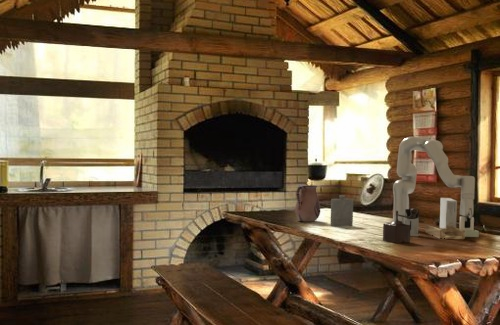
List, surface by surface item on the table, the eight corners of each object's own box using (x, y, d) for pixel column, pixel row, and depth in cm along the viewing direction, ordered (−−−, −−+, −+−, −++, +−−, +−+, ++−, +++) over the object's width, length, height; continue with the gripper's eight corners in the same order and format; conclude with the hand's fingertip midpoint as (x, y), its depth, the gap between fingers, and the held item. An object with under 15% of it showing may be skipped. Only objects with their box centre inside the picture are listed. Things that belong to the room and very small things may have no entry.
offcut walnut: (444, 234, 327) (444, 231, 327) (443, 233, 331) (444, 230, 331) (452, 234, 326) (452, 231, 326) (451, 233, 331) (451, 230, 331)
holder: (458, 236, 333) (458, 230, 333) (453, 234, 340) (453, 229, 340) (479, 237, 333) (479, 231, 333) (474, 235, 340) (474, 229, 340)
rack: (439, 238, 321) (440, 229, 321) (425, 232, 347) (426, 224, 347) (464, 239, 321) (464, 230, 321) (448, 233, 347) (448, 225, 347)
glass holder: (421, 235, 332) (422, 210, 332) (408, 237, 323) (409, 210, 323) (408, 233, 339) (409, 208, 339) (395, 235, 329) (395, 209, 329)
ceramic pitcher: (324, 221, 395) (325, 185, 395) (310, 223, 377) (311, 186, 377) (301, 219, 404) (302, 184, 404) (287, 221, 387) (288, 184, 386)
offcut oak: (445, 238, 326) (445, 234, 326) (442, 237, 331) (442, 233, 331) (453, 238, 326) (454, 234, 326) (450, 237, 331) (450, 233, 331)
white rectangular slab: (460, 233, 335) (461, 216, 335) (459, 233, 338) (459, 216, 338) (473, 234, 335) (473, 217, 335) (471, 233, 338) (472, 216, 338)
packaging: (456, 233, 348) (457, 201, 348) (445, 232, 349) (446, 200, 349) (449, 228, 378) (450, 198, 378) (439, 227, 379) (440, 197, 379)
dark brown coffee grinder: (396, 243, 295) (397, 209, 295) (382, 240, 305) (383, 207, 305) (418, 242, 303) (419, 208, 303) (403, 239, 312) (404, 206, 312)
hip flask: (331, 226, 366) (332, 195, 366) (328, 225, 370) (329, 195, 370) (353, 226, 372) (354, 195, 371) (350, 225, 375) (351, 195, 375)
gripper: (456, 195, 345) (455, 225, 345) (466, 197, 329) (465, 229, 329) (468, 195, 345) (467, 226, 345) (479, 197, 329) (478, 229, 329)
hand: (466, 227), depth 337 cm, fingers closed on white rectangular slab, 2 cm apart
